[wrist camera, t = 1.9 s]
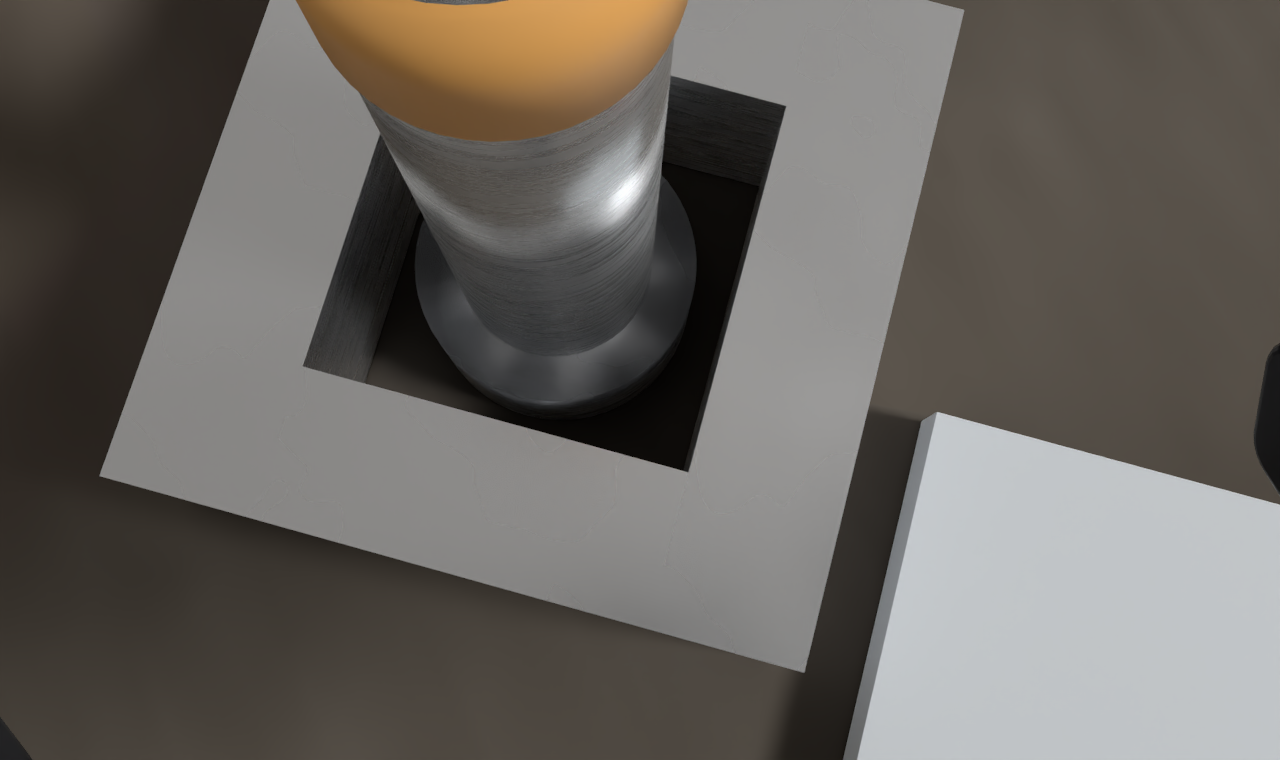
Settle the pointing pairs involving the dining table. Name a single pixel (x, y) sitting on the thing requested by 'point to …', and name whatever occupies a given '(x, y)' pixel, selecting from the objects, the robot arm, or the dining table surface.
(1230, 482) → the dining table surface
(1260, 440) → the robot arm
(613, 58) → the silver metal peg
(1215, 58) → the dining table surface
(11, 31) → the dining table surface
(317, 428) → the block
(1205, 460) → the dining table surface
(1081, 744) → the rubber mat
